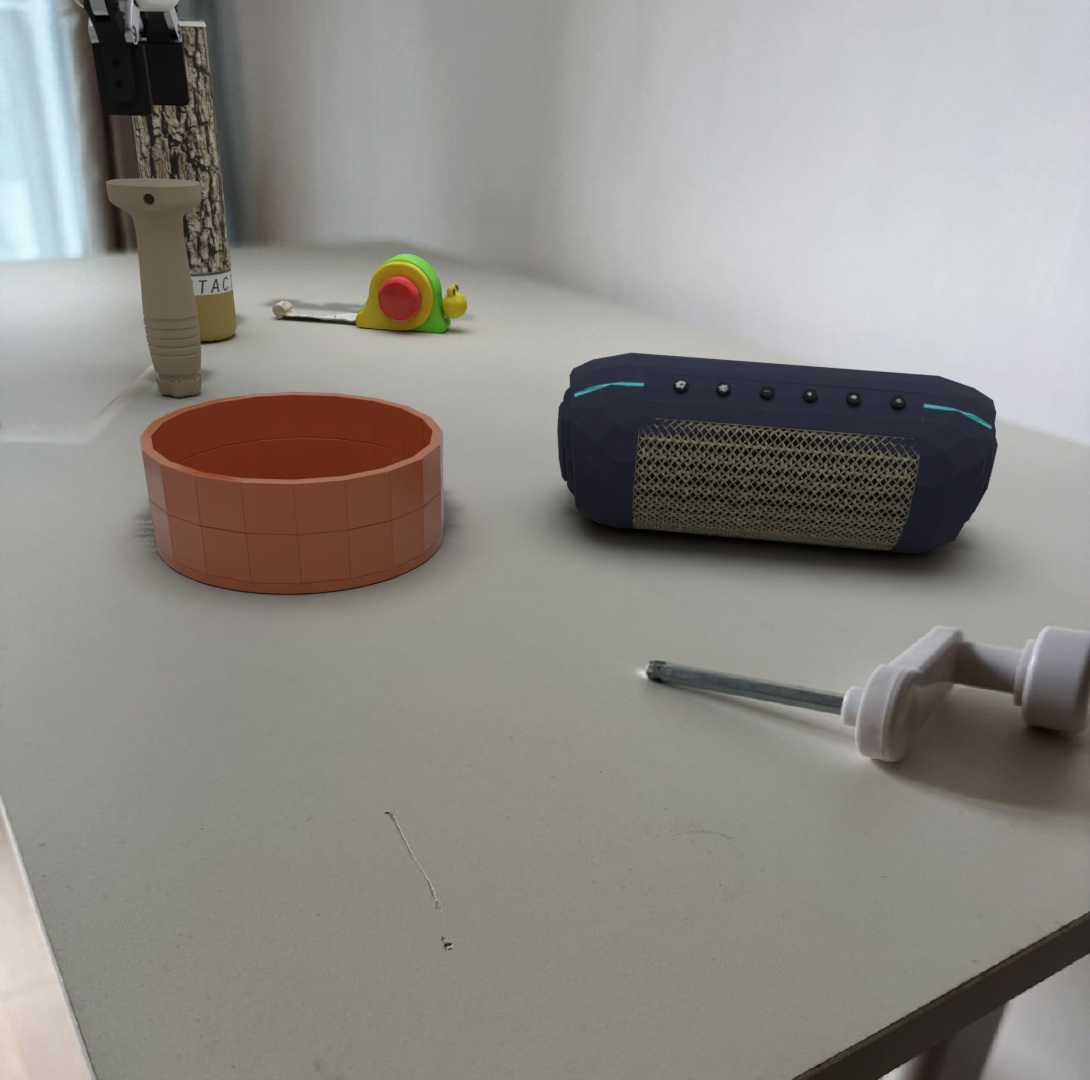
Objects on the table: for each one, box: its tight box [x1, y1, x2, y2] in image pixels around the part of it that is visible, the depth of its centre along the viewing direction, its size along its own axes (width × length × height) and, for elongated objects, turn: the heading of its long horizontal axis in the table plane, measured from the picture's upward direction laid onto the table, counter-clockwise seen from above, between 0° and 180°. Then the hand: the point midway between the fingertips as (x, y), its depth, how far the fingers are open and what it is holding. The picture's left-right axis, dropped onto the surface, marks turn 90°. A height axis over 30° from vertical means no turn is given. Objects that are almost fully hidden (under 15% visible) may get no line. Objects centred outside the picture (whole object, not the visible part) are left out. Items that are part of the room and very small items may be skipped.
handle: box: [105, 177, 203, 398], centre depth 84 cm, size 5×6×15 cm
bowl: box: [139, 391, 445, 595], centre depth 64 cm, size 16×16×6 cm
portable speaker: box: [556, 352, 999, 554], centre depth 65 cm, size 25×10×10 cm, turn 82°
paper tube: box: [123, 15, 238, 343], centre depth 98 cm, size 7×7×25 cm
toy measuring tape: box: [271, 253, 468, 334], centre depth 109 cm, size 6×20×7 cm, turn 80°
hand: (149, 109), depth 78 cm, fingers open, 9 cm apart
